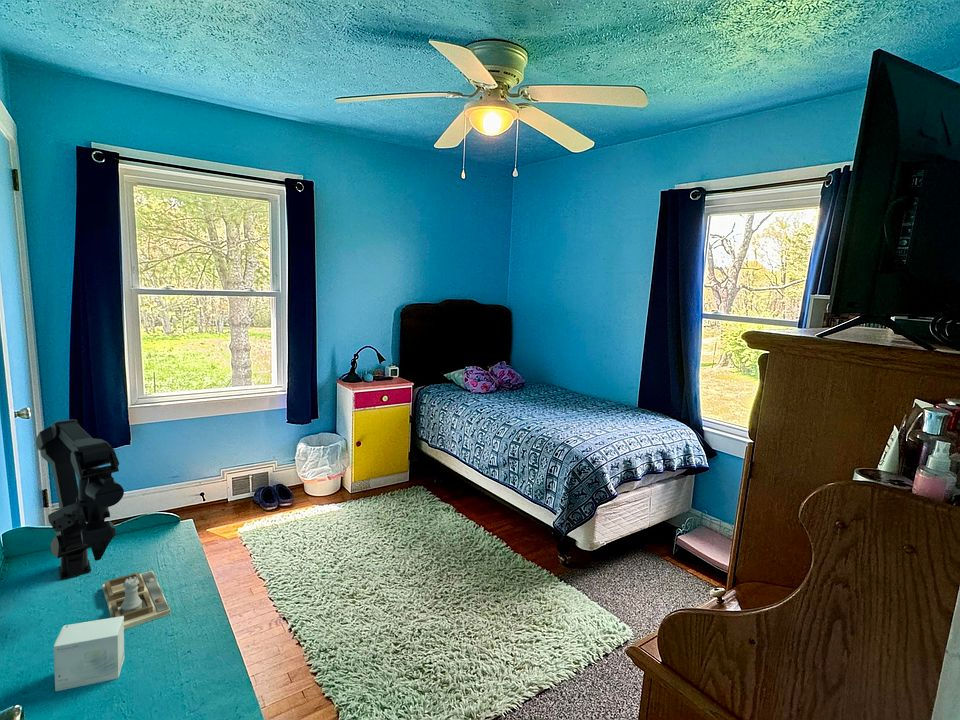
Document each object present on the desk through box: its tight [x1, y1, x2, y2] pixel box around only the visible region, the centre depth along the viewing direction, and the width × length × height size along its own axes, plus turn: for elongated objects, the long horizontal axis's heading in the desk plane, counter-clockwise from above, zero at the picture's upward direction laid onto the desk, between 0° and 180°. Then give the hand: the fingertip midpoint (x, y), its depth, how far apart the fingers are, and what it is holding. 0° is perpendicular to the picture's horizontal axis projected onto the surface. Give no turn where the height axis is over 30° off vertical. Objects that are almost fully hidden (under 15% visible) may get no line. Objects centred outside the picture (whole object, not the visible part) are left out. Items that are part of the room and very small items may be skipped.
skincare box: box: [53, 616, 126, 692], centre depth 102 cm, size 10×6×10 cm, turn 115°
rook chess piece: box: [120, 577, 143, 614], centre depth 120 cm, size 4×4×8 cm
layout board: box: [101, 570, 171, 631], centre depth 125 cm, size 20×11×3 cm, turn 44°
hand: (95, 551), depth 124 cm, fingers open, 9 cm apart
